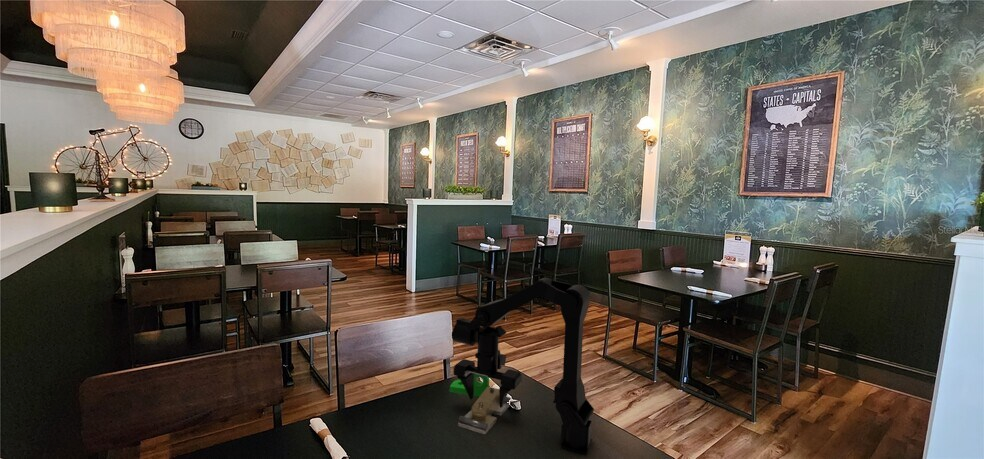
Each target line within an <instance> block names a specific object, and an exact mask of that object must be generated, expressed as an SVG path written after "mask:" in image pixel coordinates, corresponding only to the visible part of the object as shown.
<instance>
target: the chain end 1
mask: <svg viewBox="0 0 984 459" xmlns="http://www.w3.org/2000/svg"><path fill="white" fill-rule="evenodd" d="M497 420H498V418H497V417H495V416H492V415H491V417H490V418H489V420H488V421H487V423H483V422H480V421H476V420H473V419H472V409H470V411H468V413H465V415H463V416H462V415H459V417H458V424H457V427H460V428H463V429H467V430H468V431H469V430H470V431H472V432H474V433H475V432H476V433H479V434H483V435H487V433H488V432H490V431H489V430H491V428H492V427H493V426H494V425H495V424H496V422H497Z"/></svg>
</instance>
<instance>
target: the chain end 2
mask: <svg viewBox="0 0 984 459" xmlns="http://www.w3.org/2000/svg"><path fill="white" fill-rule="evenodd" d="M510 399H511V400H512V397H510V396H506V399H505V402H504V404H503V406H502V408H500V404H499V405H498V406H497V408H496V409H495V411H494V412H493V414H492V415H497V416H502V415H503V414H504V413H505V412H506V411H507V410H508V408H509V407H510V406H509V403H507V402H509V400H510Z"/></svg>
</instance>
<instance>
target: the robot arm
mask: <svg viewBox="0 0 984 459" xmlns="http://www.w3.org/2000/svg"><path fill="white" fill-rule="evenodd" d="M540 297H543V298H545V299H547V300H548V301H550V302H551V303H553V304H554V305H557V306H559V307H560V312H561V313H560V314H561V315H562V316H561V317H562V319H563V322H564V339H563V340H564V342H563V343H564V345H563V367H562V368H563V369H562V377H561V378H560V380H559V381H558V382H557V384H556V385H554V387H553V392H554V399H553V401H552V403H553V404H555V410H556V412H557V413H559V415H560V419H561V423H562V424H561V425H560V426H561V430H560V441H561V443H560V447H561V448H562V449H565V450H569V451H572V452H576V453H579V454H581V455H584V456H585V455H588V453H589V450H590V447H591V445H592V442H593V439H592V436H591V435H592V422H593V421H592V420H590V418H591V417H592V415H593V414H594V412H595V408H594V406H593V405H592V404H591V403H590V401H589V400H588V399H587V398H586V389H585V385H584V382H583V380H582V361H583V360H582V358H583V355H582V354H583V338H584V337H583V336H584V335H583V334H584V323H585V319H586V316H587V313H588V310H589V306H590V301H591V297H592V296H591V292H590V290H588V289H587V287H586V286H584V285H581V284H571V283H567V282H563V281H559V280H554V279H552V278H549V277H543V278H540V279H538V280H536V281H535V282H534V283H532V284H530V285H529V286H526V287H525V288H523V289H521V290H519V291H517V292H515V293H513V294H511V295H510V296H507V297H505V298H502V299H501V298H500V299H496V300H493V301H490V302H487V303H486V304H484V305H482V306H479V307H478V308H476V309H475V314H474V317H473V319H471V320H470V319H466V318H462V317H459V318H457V319H456V320H455V321H456V322H455V325H454V326H453V328H452V332H451V339H452V341H454V342H455V343H459V344H463V345H466V346H467V345H468V346H475V344H476V343H477V352H476V353H475V354H474V355H475V356H474V357H475V359H476V363H475V361H473V360H469V359H465V358H462V359H461V360H460V361H459V362H457V363H456V364H455V365H454V366H453V370H452V371H453V373H452V374H453V375H454V376H456V379H457V380H459V379H460V380H461V382H462V384H463V385H464V387H465V389H466V391H467V393H468V395H467V396H468V398H469V399H470V400H473V399H474V396H473V395H474V375H475V374H478V375H482V376H486V377H489V379H490V378H491V379H495V380H499V381H500V386H499V388H498V389H499V404H500V408H502V406H503V404H504V402H505V399H506V397H508V393H509V392H511V391H513V390H515V389H517V387H518V386H519V385H520V384H521V383H522V381H523V376H522V373H521V371H518V370H514V369H510V368H509V369H507V370H506V371H505V372H502V371H501V372H500V371H499V370H501V369H502V367H505V366H506V361H507V354H503V353H501V350H499V341H500V340H499V338H502V337H503V336H505V335H506V334H507V331H506V330H505V329H504V328H503V327H502V325H498V326H496V327H495V326H493V325H495V324H496V323H498V322H500V321H501V320H503V319H504V318H505V317H506V316H507V315H509V313H510V312H512V311H514V310H516V309H518V308H520V307H521V306H523V305H526V304H528V303H530V302H532V301H534V300H536V299H538V298H540Z"/></svg>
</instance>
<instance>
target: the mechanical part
mask: <svg viewBox="0 0 984 459" xmlns="http://www.w3.org/2000/svg"><path fill="white" fill-rule="evenodd" d="M477 378H480V379H481V380H482V381H478V380H477ZM489 383H490V377H486V376H482V375H478V374H475V375H474V395H473V397H478V398H479V397H480V396H481V394H482V393H483V392H484V391H485V389H486V388H487V387H490V386H489ZM449 393H453V394H458V395H467V396H469V395H468V393H467V391H466V389H465V387H464V385H463V384H462V382H461V380H460V379H456V380H454V381H453V382H452V383H451V384H450V386H449Z"/></svg>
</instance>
